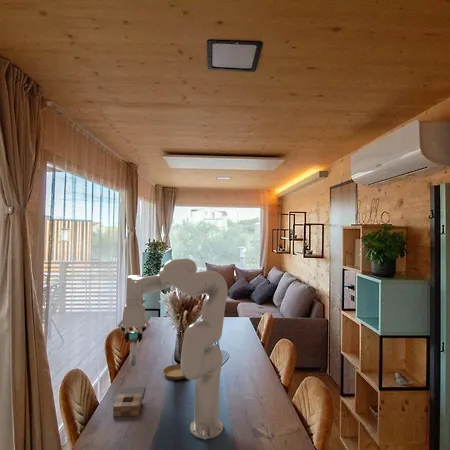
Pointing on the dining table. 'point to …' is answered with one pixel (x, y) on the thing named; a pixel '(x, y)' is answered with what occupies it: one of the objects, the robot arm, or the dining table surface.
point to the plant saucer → (174, 372)
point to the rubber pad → (133, 390)
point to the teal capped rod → (133, 346)
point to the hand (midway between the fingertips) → (133, 341)
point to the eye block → (127, 404)
